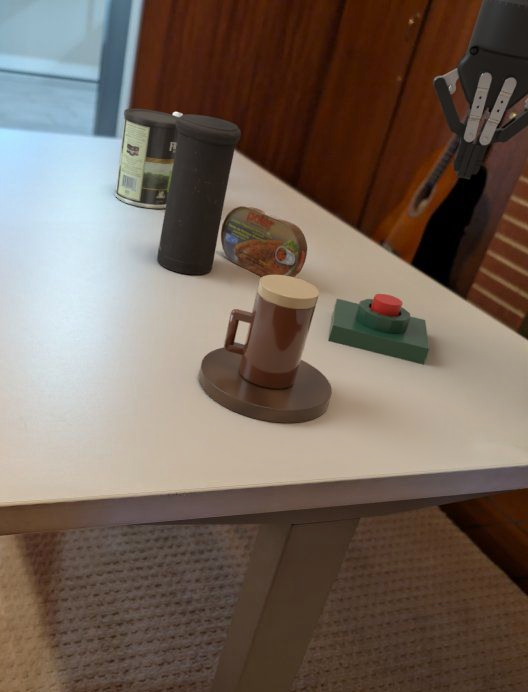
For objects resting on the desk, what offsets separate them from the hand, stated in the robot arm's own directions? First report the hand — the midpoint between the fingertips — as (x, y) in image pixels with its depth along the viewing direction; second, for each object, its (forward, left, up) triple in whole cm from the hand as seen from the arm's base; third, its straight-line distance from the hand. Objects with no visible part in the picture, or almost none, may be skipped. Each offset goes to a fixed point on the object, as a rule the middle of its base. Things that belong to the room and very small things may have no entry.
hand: (462, 176), depth 85 cm
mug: (+16, +21, -20) cm, 33 cm away
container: (+31, -11, -22) cm, 40 cm away
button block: (+3, -1, -21) cm, 22 cm away
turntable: (+15, +21, -21) cm, 34 cm away
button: (+3, -1, -18) cm, 18 cm away
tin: (+21, -16, -22) cm, 34 cm away
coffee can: (+45, -39, -22) cm, 64 cm away
